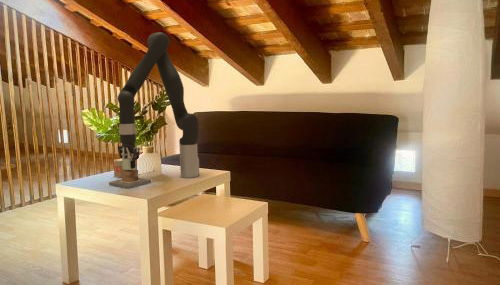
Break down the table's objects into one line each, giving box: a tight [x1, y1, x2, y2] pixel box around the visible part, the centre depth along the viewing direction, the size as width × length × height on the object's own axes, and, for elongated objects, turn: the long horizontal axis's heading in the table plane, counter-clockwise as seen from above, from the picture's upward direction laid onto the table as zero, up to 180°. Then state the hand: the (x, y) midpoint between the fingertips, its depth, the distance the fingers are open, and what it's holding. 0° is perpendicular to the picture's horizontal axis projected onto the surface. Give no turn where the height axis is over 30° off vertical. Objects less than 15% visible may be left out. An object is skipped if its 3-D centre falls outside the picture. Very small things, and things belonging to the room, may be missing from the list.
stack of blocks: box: [113, 149, 143, 179], centre depth 215 cm, size 21×6×12 cm, turn 142°
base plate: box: [108, 177, 152, 190], centre depth 192 cm, size 14×14×2 cm
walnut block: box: [121, 169, 139, 183], centre depth 192 cm, size 6×6×5 cm
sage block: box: [121, 157, 136, 170], centre depth 191 cm, size 4×4×5 cm
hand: (129, 167), depth 191 cm, fingers open, 4 cm apart
